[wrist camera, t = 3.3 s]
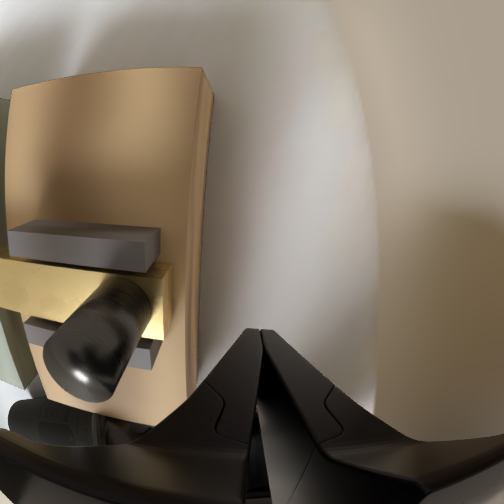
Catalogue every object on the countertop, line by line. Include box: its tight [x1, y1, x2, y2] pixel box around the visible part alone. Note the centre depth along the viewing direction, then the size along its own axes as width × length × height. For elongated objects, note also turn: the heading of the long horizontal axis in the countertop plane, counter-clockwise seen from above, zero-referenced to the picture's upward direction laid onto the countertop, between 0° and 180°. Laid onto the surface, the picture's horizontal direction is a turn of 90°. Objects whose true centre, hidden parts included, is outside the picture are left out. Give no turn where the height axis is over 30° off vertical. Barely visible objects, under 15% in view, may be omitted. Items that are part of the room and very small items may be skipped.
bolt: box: [0, 245, 173, 403], centre depth 9 cm, size 10×2×5 cm, turn 84°
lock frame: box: [0, 67, 214, 426], centre depth 13 cm, size 20×17×7 cm
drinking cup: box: [8, 397, 155, 446], centre depth 17 cm, size 8×8×20 cm
